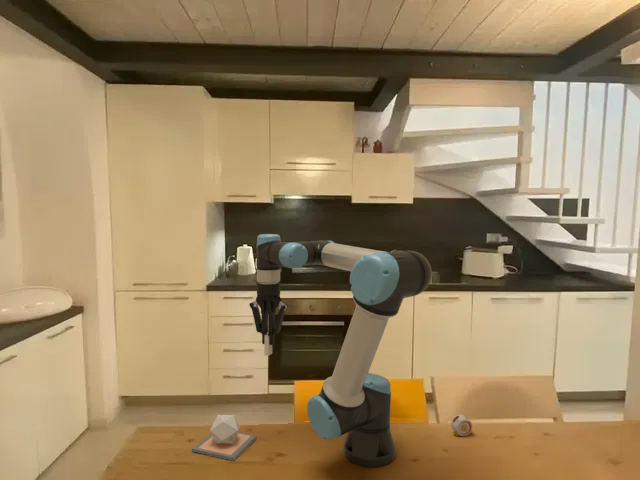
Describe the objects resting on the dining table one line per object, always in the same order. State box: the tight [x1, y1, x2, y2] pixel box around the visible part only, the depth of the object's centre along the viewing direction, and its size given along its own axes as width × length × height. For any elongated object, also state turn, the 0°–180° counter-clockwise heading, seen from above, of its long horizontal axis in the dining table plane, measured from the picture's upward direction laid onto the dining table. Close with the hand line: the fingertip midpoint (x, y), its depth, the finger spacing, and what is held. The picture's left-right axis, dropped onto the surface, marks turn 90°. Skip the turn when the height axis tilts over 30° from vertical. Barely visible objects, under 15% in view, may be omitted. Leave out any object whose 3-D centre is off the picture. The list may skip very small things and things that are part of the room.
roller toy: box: [450, 414, 473, 437], centre depth 147 cm, size 4×6×6 cm
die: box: [209, 414, 241, 444], centre depth 139 cm, size 8×9×10 cm
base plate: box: [191, 431, 258, 462], centre depth 139 cm, size 14×14×1 cm
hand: (268, 354), depth 149 cm, fingers closed
